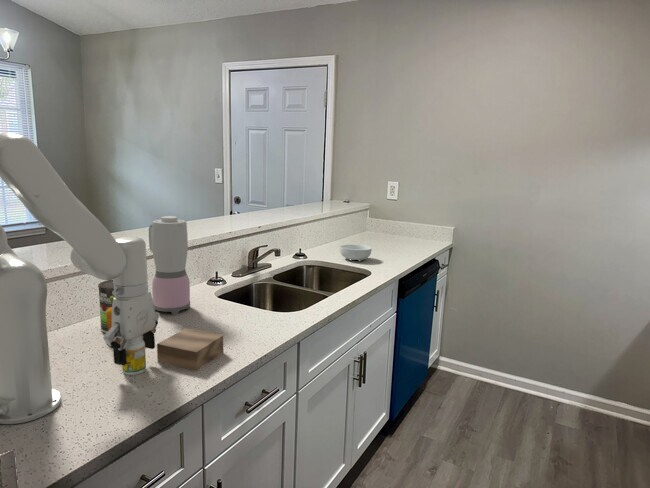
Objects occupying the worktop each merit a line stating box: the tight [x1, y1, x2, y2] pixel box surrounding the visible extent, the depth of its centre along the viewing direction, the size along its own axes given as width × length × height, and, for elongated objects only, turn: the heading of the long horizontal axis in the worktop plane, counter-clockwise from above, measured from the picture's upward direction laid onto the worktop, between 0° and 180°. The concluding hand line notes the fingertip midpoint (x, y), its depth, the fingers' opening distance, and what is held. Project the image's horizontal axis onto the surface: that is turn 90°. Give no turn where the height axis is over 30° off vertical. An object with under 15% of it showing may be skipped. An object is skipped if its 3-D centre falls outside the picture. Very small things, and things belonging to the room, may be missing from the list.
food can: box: [97, 279, 114, 334], centre depth 137 cm, size 10×10×14 cm
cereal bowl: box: [339, 243, 372, 261], centre depth 243 cm, size 17×17×7 cm
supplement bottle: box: [121, 335, 147, 376], centre depth 111 cm, size 5×5×10 cm
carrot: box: [106, 296, 122, 344], centre depth 123 cm, size 5×5×15 cm
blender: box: [148, 215, 191, 316], centre depth 154 cm, size 16×12×32 cm
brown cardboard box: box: [156, 327, 224, 372], centre depth 120 cm, size 12×12×5 cm
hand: (135, 355), depth 112 cm, fingers open, 9 cm apart
